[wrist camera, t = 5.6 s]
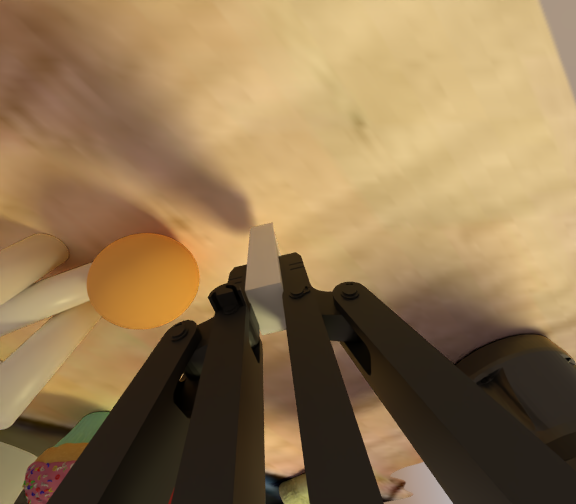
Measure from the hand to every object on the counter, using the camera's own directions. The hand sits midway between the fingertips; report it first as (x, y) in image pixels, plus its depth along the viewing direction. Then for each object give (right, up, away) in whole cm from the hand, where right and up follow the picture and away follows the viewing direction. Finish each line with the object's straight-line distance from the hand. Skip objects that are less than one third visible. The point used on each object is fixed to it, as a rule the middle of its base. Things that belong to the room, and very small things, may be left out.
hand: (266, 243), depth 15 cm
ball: (-7, -2, -1) cm, 8 cm away
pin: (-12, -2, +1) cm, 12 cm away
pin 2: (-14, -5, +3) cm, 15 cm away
